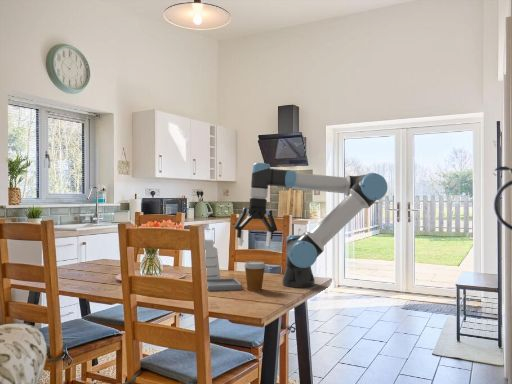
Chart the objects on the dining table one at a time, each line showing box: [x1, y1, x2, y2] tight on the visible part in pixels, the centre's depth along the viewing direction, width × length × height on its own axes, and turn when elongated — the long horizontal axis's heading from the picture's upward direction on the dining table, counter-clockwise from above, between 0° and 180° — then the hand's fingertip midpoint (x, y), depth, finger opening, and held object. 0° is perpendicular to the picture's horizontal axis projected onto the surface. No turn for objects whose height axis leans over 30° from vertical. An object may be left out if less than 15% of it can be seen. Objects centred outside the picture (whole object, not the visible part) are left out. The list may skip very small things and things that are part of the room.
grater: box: [204, 238, 221, 279], centre depth 217 cm, size 10×10×20 cm
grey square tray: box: [207, 277, 243, 292], centre depth 200 cm, size 15×15×2 cm
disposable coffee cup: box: [243, 260, 266, 292], centre depth 195 cm, size 10×10×12 cm
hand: (254, 246), depth 194 cm, fingers open, 13 cm apart
